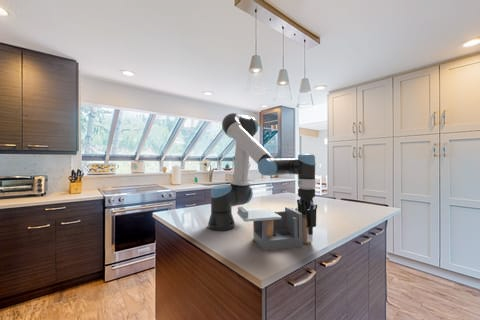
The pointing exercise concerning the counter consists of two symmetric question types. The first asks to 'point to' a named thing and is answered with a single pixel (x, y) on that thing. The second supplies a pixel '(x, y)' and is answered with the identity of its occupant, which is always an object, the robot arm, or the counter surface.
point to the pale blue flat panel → (257, 215)
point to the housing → (280, 231)
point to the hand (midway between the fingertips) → (306, 239)
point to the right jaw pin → (304, 228)
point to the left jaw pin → (269, 228)
